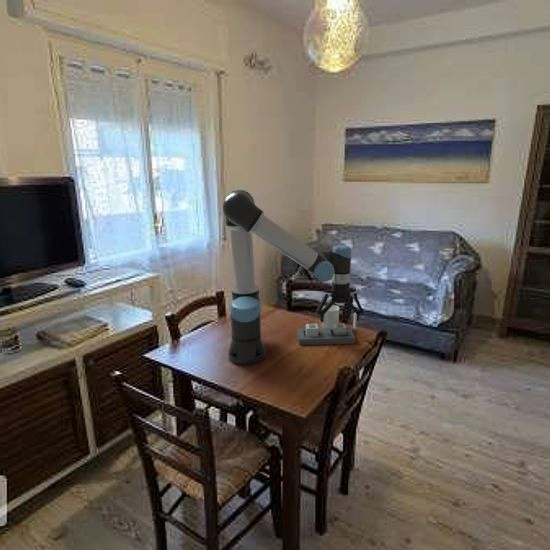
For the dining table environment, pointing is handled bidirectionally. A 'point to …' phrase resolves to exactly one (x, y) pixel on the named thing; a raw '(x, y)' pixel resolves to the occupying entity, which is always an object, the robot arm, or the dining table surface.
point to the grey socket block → (323, 336)
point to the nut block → (339, 329)
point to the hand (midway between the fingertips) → (339, 328)
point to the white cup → (331, 316)
